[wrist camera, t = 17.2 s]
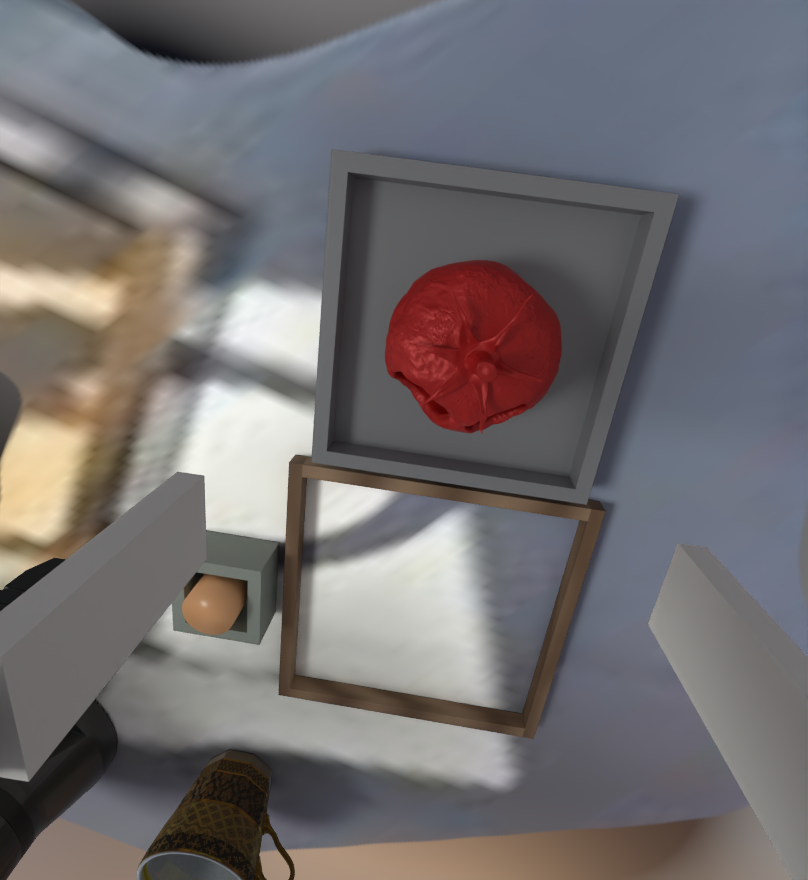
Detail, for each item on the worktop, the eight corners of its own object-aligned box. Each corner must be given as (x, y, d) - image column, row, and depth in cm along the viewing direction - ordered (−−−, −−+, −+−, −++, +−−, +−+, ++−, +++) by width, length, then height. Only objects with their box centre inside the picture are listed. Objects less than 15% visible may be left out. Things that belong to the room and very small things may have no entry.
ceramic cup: (195, 795, 52) (139, 912, 43) (193, 729, 48) (131, 841, 39) (313, 817, 51) (283, 941, 42) (320, 752, 48) (289, 872, 39)
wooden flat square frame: (283, 681, 45) (278, 694, 44) (295, 454, 37) (289, 462, 35) (531, 723, 44) (533, 738, 43) (599, 501, 36) (605, 511, 34)
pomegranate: (418, 241, 30) (404, 227, 21) (572, 287, 30) (622, 293, 21) (378, 391, 33) (351, 432, 25) (517, 432, 33) (540, 489, 25)
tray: (322, 446, 36) (311, 462, 34) (342, 159, 30) (331, 149, 27) (575, 485, 36) (586, 504, 33) (656, 200, 29) (679, 194, 26)
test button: (207, 596, 41) (182, 630, 37) (206, 556, 39) (180, 587, 35) (253, 603, 40) (234, 638, 37) (254, 563, 39) (234, 595, 35)
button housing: (197, 597, 42) (173, 630, 39) (195, 528, 40) (169, 556, 36) (276, 610, 42) (259, 644, 38) (278, 542, 40) (261, 571, 36)
